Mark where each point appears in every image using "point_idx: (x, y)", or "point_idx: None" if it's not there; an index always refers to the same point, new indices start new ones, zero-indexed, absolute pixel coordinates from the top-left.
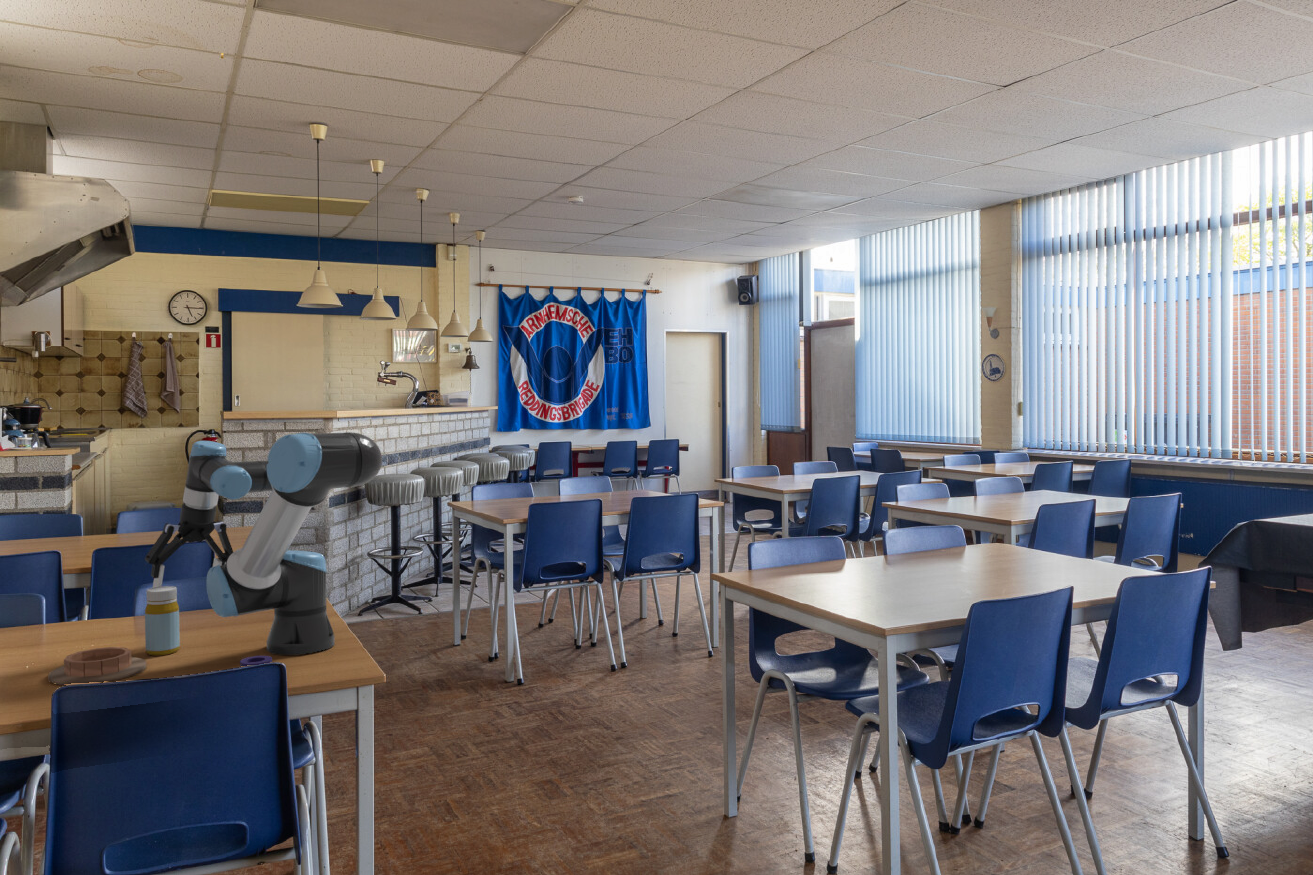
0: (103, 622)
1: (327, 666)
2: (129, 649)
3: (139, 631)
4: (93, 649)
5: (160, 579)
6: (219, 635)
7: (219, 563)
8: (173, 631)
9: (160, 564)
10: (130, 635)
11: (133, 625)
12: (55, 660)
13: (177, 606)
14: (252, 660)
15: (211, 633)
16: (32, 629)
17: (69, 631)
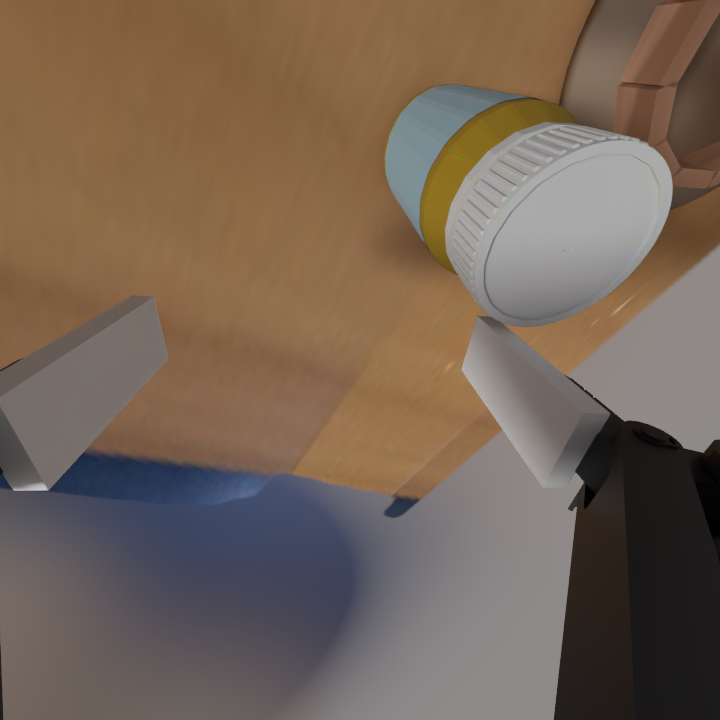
0: (340, 470)
1: None
2: (700, 15)
3: (335, 399)
4: (680, 174)
5: (528, 350)
6: (199, 217)
7: (4, 386)
8: (464, 90)
9: (630, 430)
10: (363, 384)
11: (319, 437)
12: None
13: (468, 138)
14: None
15: (214, 265)
16: (418, 482)
17: (401, 455)
